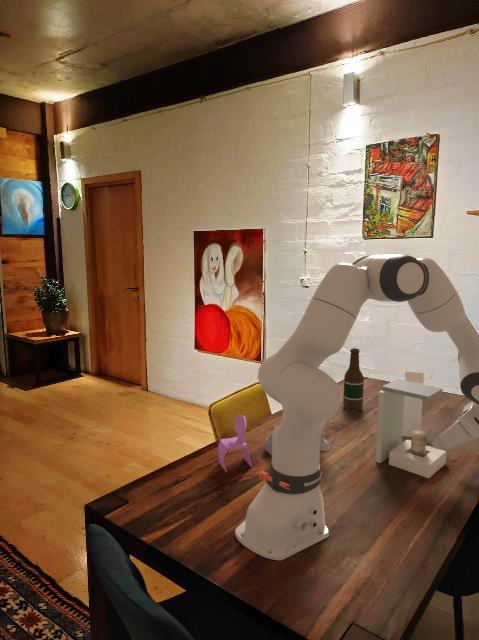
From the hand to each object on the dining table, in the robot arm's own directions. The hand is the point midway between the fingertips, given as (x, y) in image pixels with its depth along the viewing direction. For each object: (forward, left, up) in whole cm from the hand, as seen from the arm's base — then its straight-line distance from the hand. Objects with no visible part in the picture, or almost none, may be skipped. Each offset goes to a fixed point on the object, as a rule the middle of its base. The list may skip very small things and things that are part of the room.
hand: (441, 440), depth 133 cm
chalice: (-10, +33, -10) cm, 36 cm away
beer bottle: (+29, +45, -10) cm, 55 cm away
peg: (0, +6, -9) cm, 11 cm away
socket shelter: (0, +8, -9) cm, 12 cm away
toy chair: (-38, +45, -10) cm, 60 cm away
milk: (+20, +17, -10) cm, 28 cm away
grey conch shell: (-21, +41, -10) cm, 47 cm away
